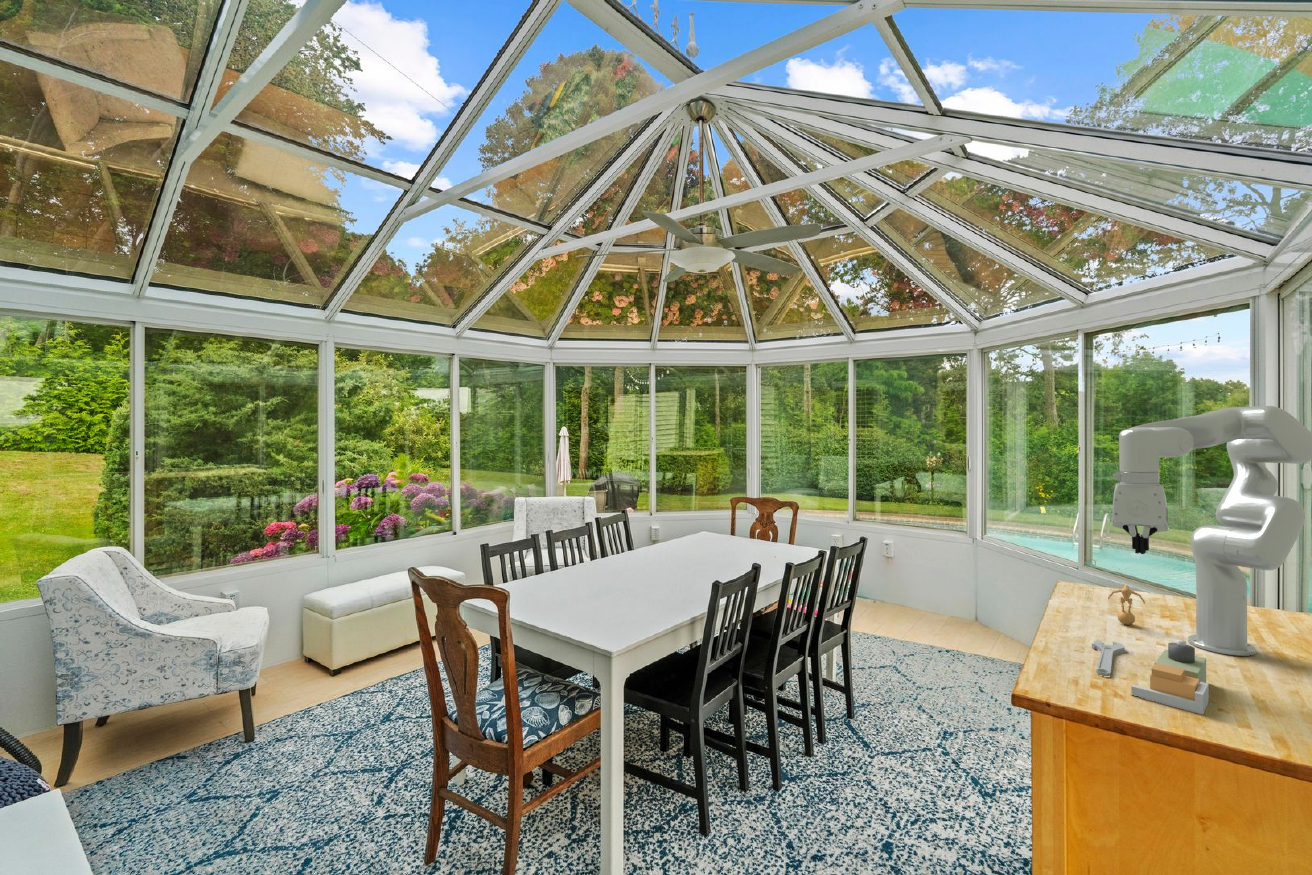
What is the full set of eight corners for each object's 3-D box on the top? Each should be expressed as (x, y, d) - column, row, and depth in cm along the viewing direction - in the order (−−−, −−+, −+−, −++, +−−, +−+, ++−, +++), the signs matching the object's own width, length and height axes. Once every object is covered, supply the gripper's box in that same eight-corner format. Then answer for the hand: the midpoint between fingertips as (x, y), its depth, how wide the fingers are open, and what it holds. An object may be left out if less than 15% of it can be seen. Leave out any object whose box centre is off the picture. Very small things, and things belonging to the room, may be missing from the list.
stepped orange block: (1155, 691, 125) (1155, 662, 125) (1199, 702, 120) (1199, 672, 120) (1150, 698, 122) (1150, 668, 122) (1194, 710, 117) (1194, 679, 117)
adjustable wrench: (1110, 681, 132) (1110, 673, 132) (1076, 673, 137) (1076, 665, 137) (1125, 650, 150) (1125, 643, 149) (1095, 643, 154) (1095, 637, 154)
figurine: (1144, 625, 167) (1144, 584, 167) (1145, 631, 162) (1145, 588, 162) (1108, 620, 172) (1108, 580, 172) (1108, 625, 167) (1107, 584, 167)
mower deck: (1151, 669, 137) (1151, 628, 136) (1216, 684, 128) (1216, 641, 128) (1131, 695, 124) (1131, 650, 123) (1202, 714, 115) (1202, 666, 115)
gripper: (1097, 478, 145) (1099, 551, 145) (1177, 481, 134) (1178, 560, 134) (1105, 476, 150) (1106, 546, 150) (1182, 479, 139) (1183, 554, 139)
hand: (1140, 552), depth 142 cm, fingers closed
